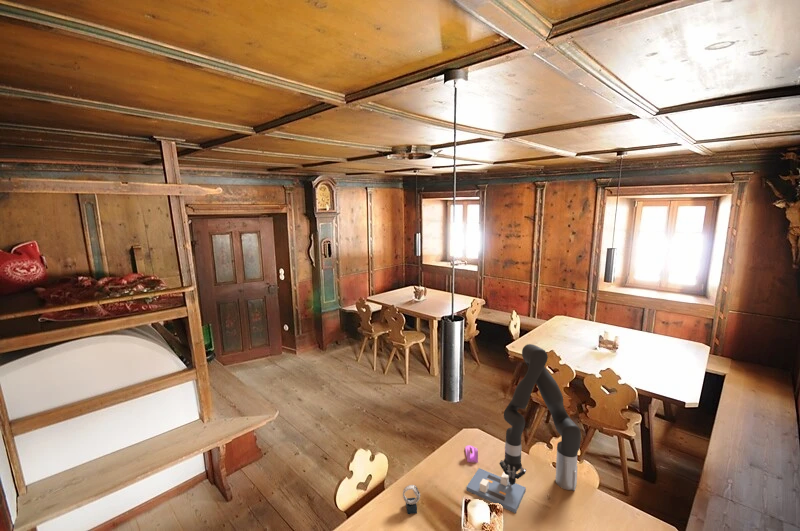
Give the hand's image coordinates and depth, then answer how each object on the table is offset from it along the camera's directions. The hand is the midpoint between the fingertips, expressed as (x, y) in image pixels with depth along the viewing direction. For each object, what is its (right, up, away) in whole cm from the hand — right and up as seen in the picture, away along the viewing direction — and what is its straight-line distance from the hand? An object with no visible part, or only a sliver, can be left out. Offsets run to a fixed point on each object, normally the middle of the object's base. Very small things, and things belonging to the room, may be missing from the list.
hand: (512, 483), depth 169 cm
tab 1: (-14, -2, -2) cm, 14 cm away
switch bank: (-8, -4, 0) cm, 9 cm away
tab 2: (-3, -1, +2) cm, 4 cm away
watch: (-50, -5, -10) cm, 51 cm away
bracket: (-15, -1, +27) cm, 31 cm away
